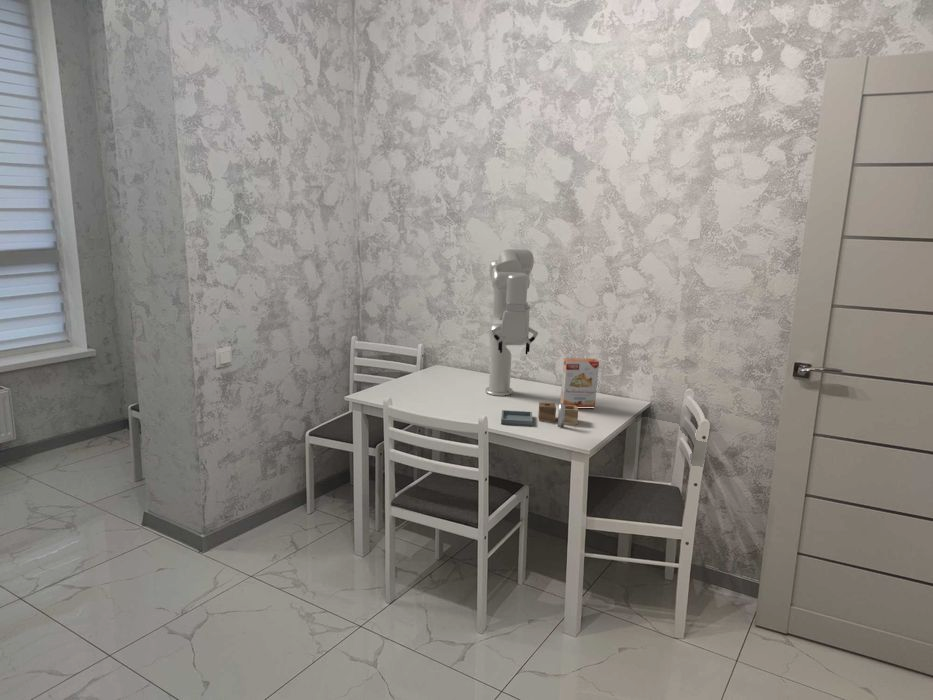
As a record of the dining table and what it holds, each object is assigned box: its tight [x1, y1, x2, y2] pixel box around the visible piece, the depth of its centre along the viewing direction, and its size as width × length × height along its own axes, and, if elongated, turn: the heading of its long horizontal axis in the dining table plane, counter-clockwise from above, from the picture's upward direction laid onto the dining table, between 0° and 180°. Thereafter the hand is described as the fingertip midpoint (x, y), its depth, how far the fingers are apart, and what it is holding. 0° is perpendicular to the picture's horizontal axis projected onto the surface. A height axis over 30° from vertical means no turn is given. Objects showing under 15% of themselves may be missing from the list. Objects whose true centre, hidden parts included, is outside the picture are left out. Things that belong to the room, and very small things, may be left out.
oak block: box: [564, 405, 579, 425], centre depth 253 cm, size 6×6×6 cm
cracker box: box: [559, 357, 600, 408], centre depth 271 cm, size 14×6×21 cm, turn 95°
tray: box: [500, 409, 533, 427], centre depth 253 cm, size 12×12×2 cm
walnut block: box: [538, 401, 557, 423], centre depth 255 cm, size 6×6×6 cm
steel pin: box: [557, 403, 565, 429], centre depth 246 cm, size 2×2×9 cm
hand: (513, 353), depth 241 cm, fingers open, 9 cm apart
